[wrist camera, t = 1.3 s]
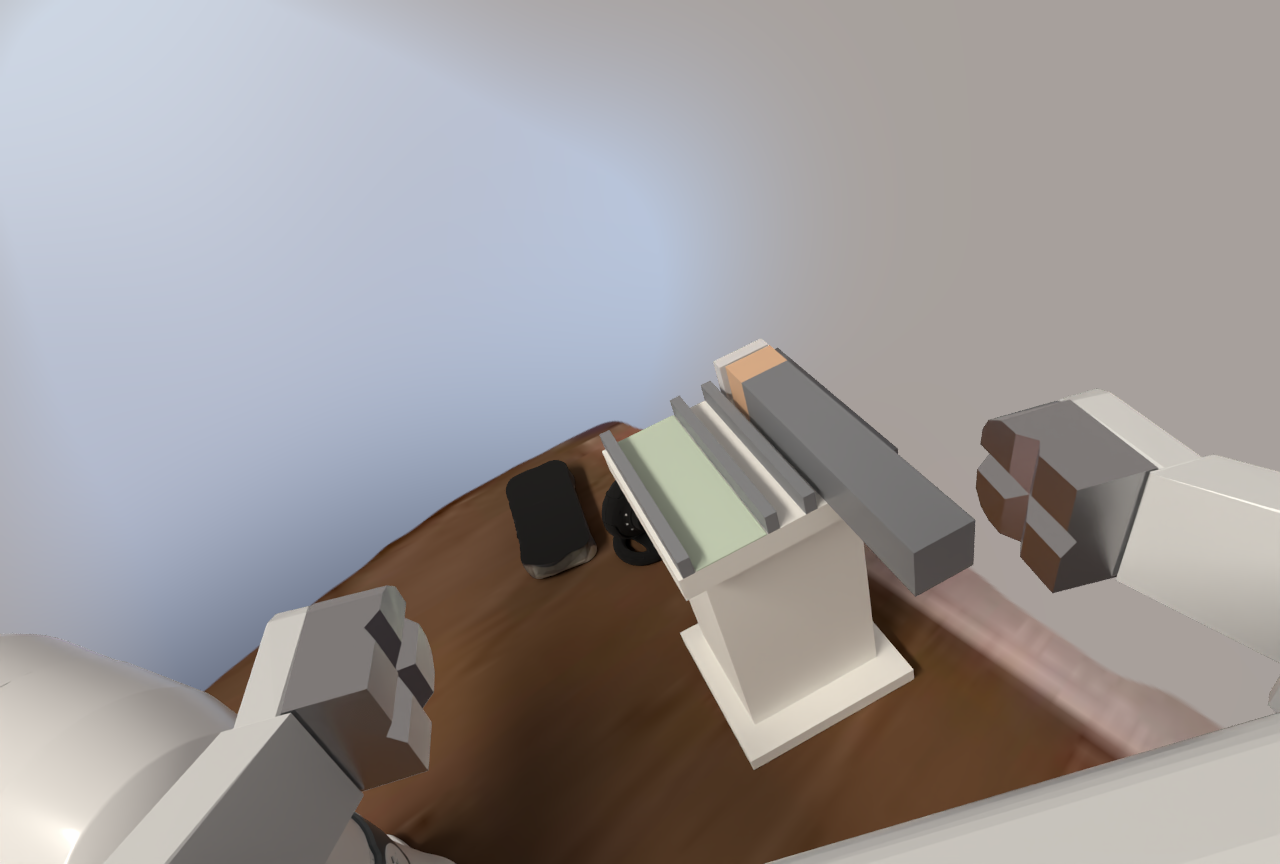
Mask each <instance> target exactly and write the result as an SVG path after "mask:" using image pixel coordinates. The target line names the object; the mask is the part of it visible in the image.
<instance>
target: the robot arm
mask: <svg viewBox="0 0 1280 864" xmlns="http://www.w3.org/2000/svg"><path fill="white" fill-rule="evenodd" d="M981 445H982V446H983V447H984V448H985V449H986V450H987V451H988V452H989V453H990V454H989V455H988V456H987V458H986V459H985V460H984V461H983V463H982V464H981V465H980V467H979V468H978V469H977V481H976V490H977V493H978V497H979V501H980V505H981V507H982V508H983V511H984V513H985V514H986V516H987V518H988V520H989V521H990V522H991V523H992V525H993V526H994V527H995V528H996V529H997V531H998V532H999V533H1000V534H1003V535H1005V536H1008V537H1010V538H1013V539H1015V540H1018V541H1020V542H1021V550H1020V557H1021V558H1022V559H1023V560H1024V562H1025V563H1026V564H1027V565H1028V566H1029V567H1030V568H1031V569H1032V571H1034V573H1035V574H1036V575H1037V576H1038V577H1039V578H1040V580H1041V581H1042V582H1043V583H1044V584H1045V585H1046V586H1047V588H1048V589H1049V590H1050V591H1051V592H1052V593H1055V592H1059V591H1062V590H1067V589H1071V588H1074V587H1079V586H1082V585H1086V584H1090V583H1094V582H1098V581H1102V580H1106V579H1110V578H1114V577H1116V581H1118V582H1120V583H1122V584H1124V585H1126V586H1128V587H1130V588H1132V589H1134V590H1136V591H1138V592H1140V593H1142V594H1144V595H1146V596H1148V597H1150V598H1152V599H1154V600H1156V601H1157V602H1160V603H1161V604H1163V605H1165V606H1167V607H1169V608H1171V609H1173V610H1175V611H1177V612H1179V613H1181V614H1183V615H1185V616H1187V617H1189V618H1191V619H1193V620H1195V621H1197V622H1199V623H1201V624H1203V625H1205V626H1207V627H1209V628H1211V629H1213V630H1215V631H1217V632H1219V633H1221V634H1223V635H1225V636H1227V637H1229V638H1231V639H1233V640H1235V641H1237V642H1239V643H1241V644H1243V645H1245V646H1247V647H1248V648H1251V649H1252V650H1255V651H1257V652H1258V653H1260V654H1262V655H1264V656H1266V657H1268V658H1270V659H1273V660H1274V661H1276V662H1278V663H1280V472H1278V471H1274V470H1271V469H1266V468H1263V467H1259V466H1255V465H1251V464H1248V463H1244V462H1240V461H1236V460H1233V459H1229V458H1225V457H1221V456H1218V455H1210V456H1207V457H1201V456H1199V455H1198V454H1196V453H1195V452H1194V451H1192V450H1191V449H1189V448H1188V447H1187V446H1185V445H1184V444H1182V443H1181V442H1179V441H1178V440H1177V439H1175V438H1174V437H1172V436H1171V435H1170V434H1168V433H1167V432H1166V431H1164V430H1163V429H1161V428H1160V427H1158V426H1157V425H1156V424H1154V423H1153V422H1151V421H1150V420H1149V419H1147V418H1146V417H1144V416H1143V415H1142V414H1140V413H1139V412H1137V411H1136V410H1135V409H1133V408H1132V407H1130V406H1129V405H1128V404H1126V403H1125V402H1123V401H1122V400H1121V399H1119V398H1118V397H1116V396H1115V395H1114V394H1112V393H1111V392H1108V391H1105V390H1101V389H1094V390H1091V391H1087V392H1084V393H1080V394H1077V395H1073V396H1070V397H1066V398H1063V399H1060V400H1059V401H1054V402H1050V403H1047V404H1043V405H1040V406H1036V407H1033V408H1029V409H1026V410H1022V411H1018V412H1015V413H1012V414H1008V415H1004V416H1001V417H997V418H994V419H990V420H988V422H987V423H986V425H985V426H984V428H983V431H982V437H981ZM405 607H406V602H405V601H404V599H403V598H402V596H401V595H400V593H399V592H398V590H397V589H396V587H394V586H383V587H379V588H375V589H371V590H367V591H363V592H359V593H355V594H351V595H347V596H343V597H339V598H335V599H331V600H327V601H323V602H319V603H315V604H314V605H312V606H308V607H303V608H299V609H295V610H291V611H287V612H283V613H278V614H276V615H275V616H274V617H273V618H272V619H271V620H270V621H269V622H268V624H267V625H266V629H265V632H264V635H263V638H262V641H261V644H260V647H259V650H258V653H257V656H256V660H255V663H254V666H253V669H252V672H251V675H250V678H249V681H248V684H247V688H246V691H245V694H244V697H243V700H242V703H241V706H240V709H239V712H238V715H237V714H236V713H235V712H233V711H232V710H230V709H229V708H228V707H227V706H225V705H224V704H223V703H221V702H220V701H219V700H217V699H216V698H215V697H213V696H211V695H209V694H208V693H205V692H203V691H200V690H197V689H195V688H192V687H190V686H187V685H184V684H182V683H179V682H177V681H174V680H171V679H169V678H166V677H164V676H161V675H159V674H156V673H153V672H151V671H148V670H146V669H143V668H140V667H138V666H135V665H132V664H130V663H127V662H123V661H118V660H114V659H111V658H109V657H106V656H104V655H101V654H99V653H96V652H94V651H91V650H88V649H86V648H84V647H81V646H79V645H76V644H73V643H71V642H68V641H65V640H62V639H59V638H56V637H51V636H46V635H37V634H0V864H455V863H454V862H452V861H451V860H449V859H447V858H444V857H442V856H438V855H434V854H428V853H424V852H421V851H418V850H415V849H413V848H410V847H409V846H408V845H407V844H406V843H405V842H404V841H402V840H401V839H399V838H397V837H395V836H393V835H389V834H387V835H386V834H385V833H384V832H383V831H382V830H380V829H379V828H378V827H376V826H375V825H373V824H372V823H371V822H369V821H368V820H366V819H364V818H363V817H361V815H359V814H358V813H356V812H355V810H356V808H357V806H358V804H359V803H360V801H361V799H362V797H363V796H364V795H363V793H362V791H365V790H369V789H372V788H375V787H378V786H381V785H384V784H388V783H391V782H394V781H397V780H400V779H404V778H407V777H410V776H413V775H416V774H420V773H423V772H426V771H428V768H429V754H430V740H431V726H432V722H431V721H430V719H429V718H428V716H427V715H426V713H425V712H424V710H423V707H424V706H425V704H426V703H427V701H428V700H429V698H430V697H431V695H432V694H433V692H434V674H435V672H434V665H433V658H432V652H431V649H430V646H429V643H428V640H427V638H426V635H425V633H424V632H423V630H422V628H421V627H420V625H419V624H418V623H415V622H413V621H411V620H408V619H406V618H404V616H405ZM1268 705H1269V706H1270V707H1271V708H1272V709H1273V710H1274V711H1275V712H1276V714H1272V715H1269V716H1265V717H1262V718H1258V719H1255V720H1252V721H1248V722H1245V723H1242V724H1238V725H1235V726H1231V727H1228V728H1224V729H1221V730H1218V731H1214V732H1211V733H1207V734H1204V735H1200V736H1197V737H1194V738H1190V739H1187V740H1183V741H1180V742H1177V743H1173V744H1170V745H1166V746H1163V747H1160V748H1156V749H1153V750H1149V751H1146V752H1143V753H1139V754H1136V755H1132V756H1129V757H1126V758H1122V759H1119V760H1115V761H1112V762H1109V763H1105V764H1102V765H1098V766H1095V767H1092V768H1088V769H1085V770H1081V771H1078V772H1075V773H1071V774H1068V775H1064V776H1061V777H1058V778H1054V779H1051V780H1047V781H1044V782H1041V783H1037V784H1034V785H1030V786H1027V787H1023V788H1020V789H1017V790H1013V791H1010V792H1006V793H1003V794H1000V795H996V796H993V797H989V798H986V799H983V800H979V801H976V802H972V803H969V804H966V805H962V806H959V807H955V808H952V809H949V810H945V811H942V812H938V813H935V814H932V815H928V816H925V817H921V818H918V819H915V820H911V821H908V822H904V823H901V824H898V825H894V826H891V827H888V828H884V829H881V830H877V831H874V832H871V833H867V834H864V835H860V836H857V837H854V838H850V839H847V840H843V841H840V842H837V843H833V844H830V845H826V846H823V847H820V848H816V849H813V850H809V851H806V852H803V853H799V854H796V855H792V856H789V857H786V858H782V859H779V860H775V861H772V862H769V863H765V864H1280V677H1279V678H1278V680H1277V681H1276V683H1275V685H1274V687H1273V688H1272V690H1271V691H1270V694H1269V702H1268Z"/></svg>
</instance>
